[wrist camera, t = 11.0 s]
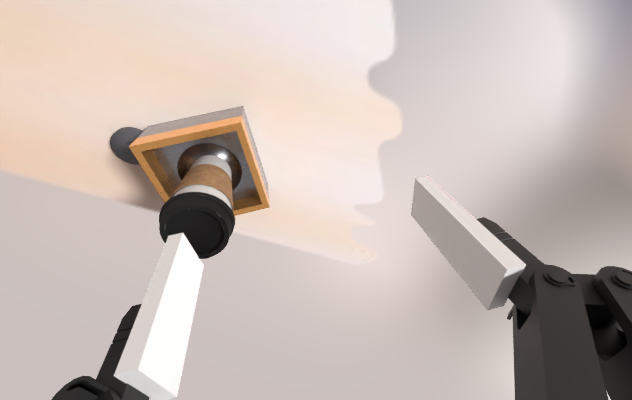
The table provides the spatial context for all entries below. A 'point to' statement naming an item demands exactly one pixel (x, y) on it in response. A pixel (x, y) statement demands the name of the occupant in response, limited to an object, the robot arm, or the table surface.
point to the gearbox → (199, 140)
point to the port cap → (125, 143)
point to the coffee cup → (201, 207)
